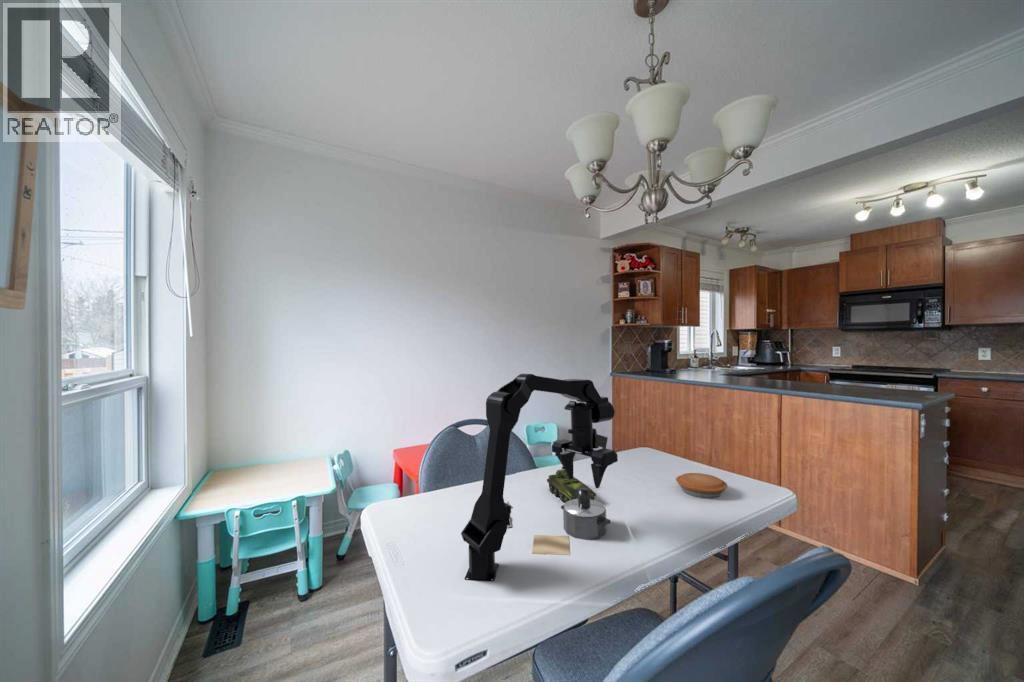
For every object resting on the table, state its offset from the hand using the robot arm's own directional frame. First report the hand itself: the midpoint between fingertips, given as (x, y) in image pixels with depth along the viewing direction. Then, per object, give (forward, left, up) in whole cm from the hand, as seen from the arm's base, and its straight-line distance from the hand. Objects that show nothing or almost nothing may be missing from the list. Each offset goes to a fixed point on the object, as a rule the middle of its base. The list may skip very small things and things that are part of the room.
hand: (583, 483), depth 99 cm
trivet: (-9, +9, -13) cm, 18 cm away
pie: (+30, -41, -13) cm, 52 cm away
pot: (0, 0, -13) cm, 13 cm away
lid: (0, 0, -8) cm, 8 cm away
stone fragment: (+8, +25, -14) cm, 30 cm away
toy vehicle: (+24, +3, -13) cm, 27 cm away
